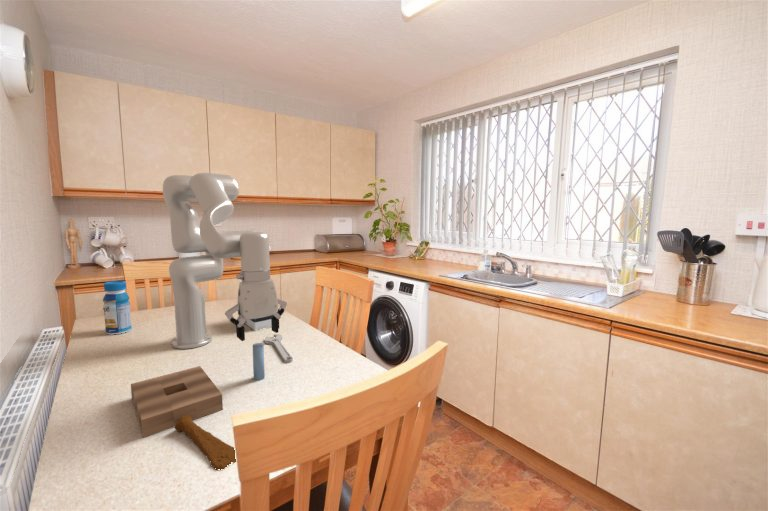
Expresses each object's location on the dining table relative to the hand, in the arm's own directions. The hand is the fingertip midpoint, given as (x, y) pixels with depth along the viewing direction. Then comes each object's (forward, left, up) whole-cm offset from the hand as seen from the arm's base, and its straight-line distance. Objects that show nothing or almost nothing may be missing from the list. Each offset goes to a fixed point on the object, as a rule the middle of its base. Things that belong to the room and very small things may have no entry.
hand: (258, 335), depth 97 cm
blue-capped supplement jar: (-74, -27, -13) cm, 79 cm away
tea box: (-48, +19, -13) cm, 53 cm away
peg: (-1, 0, -13) cm, 13 cm away
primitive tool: (+21, -19, -14) cm, 31 cm away
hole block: (-1, -21, -13) cm, 25 cm away
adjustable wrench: (-17, +13, -14) cm, 25 cm away
